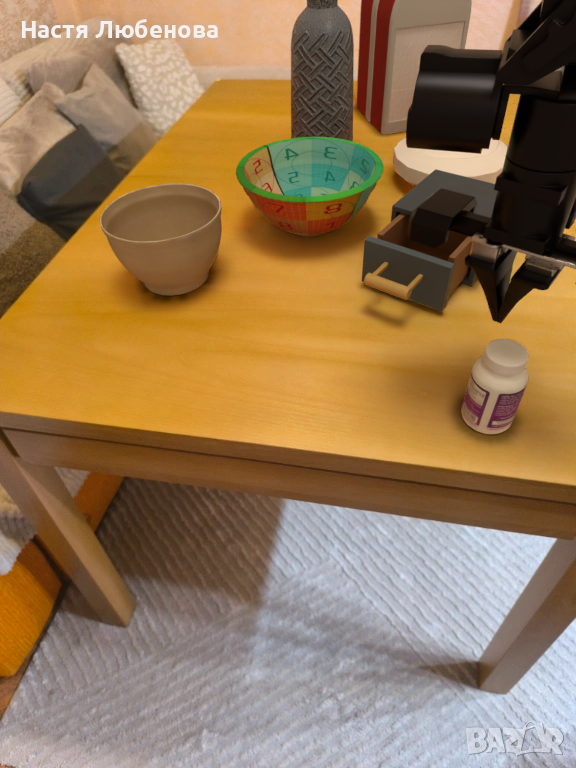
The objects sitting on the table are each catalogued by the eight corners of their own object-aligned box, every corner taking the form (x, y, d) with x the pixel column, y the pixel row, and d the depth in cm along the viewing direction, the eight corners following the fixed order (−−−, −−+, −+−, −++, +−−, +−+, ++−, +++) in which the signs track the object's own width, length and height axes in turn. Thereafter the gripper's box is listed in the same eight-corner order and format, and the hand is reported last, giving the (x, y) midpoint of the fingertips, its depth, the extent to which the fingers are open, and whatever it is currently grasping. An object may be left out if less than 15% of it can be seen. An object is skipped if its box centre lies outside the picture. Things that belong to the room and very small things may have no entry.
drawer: (424, 332, 66) (432, 288, 61) (342, 300, 72) (343, 257, 67) (480, 266, 75) (491, 223, 71) (403, 241, 81) (409, 200, 76)
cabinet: (471, 286, 74) (485, 232, 68) (386, 257, 80) (392, 205, 74) (507, 243, 81) (522, 190, 75) (427, 219, 87) (435, 169, 81)
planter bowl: (249, 259, 81) (241, 191, 73) (195, 322, 71) (179, 251, 63) (161, 240, 86) (145, 175, 78) (99, 296, 76) (73, 228, 68)
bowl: (407, 232, 84) (415, 170, 77) (288, 280, 77) (285, 217, 69) (326, 181, 98) (327, 124, 90) (219, 217, 90) (210, 159, 83)
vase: (364, 154, 105) (375, -23, 85) (317, 172, 100) (316, -10, 80) (325, 136, 112) (326, -32, 92) (279, 153, 107) (270, -20, 87)
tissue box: (420, 97, 125) (439, -49, 106) (454, 124, 113) (482, -35, 94) (354, 106, 123) (360, -41, 104) (381, 135, 111) (394, -26, 92)
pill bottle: (512, 404, 59) (538, 339, 52) (510, 441, 55) (537, 376, 48) (462, 394, 60) (481, 329, 53) (456, 429, 56) (475, 364, 50)
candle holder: (529, 185, 93) (566, 61, 79) (444, 219, 86) (467, 91, 72) (448, 148, 105) (468, 35, 91) (368, 175, 99) (376, 58, 85)
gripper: (712, 143, 39) (627, 310, 51) (474, 102, 48) (447, 252, 59) (677, 205, 34) (591, 378, 45) (414, 146, 42) (396, 303, 53)
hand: (498, 319), depth 51 cm, fingers closed
